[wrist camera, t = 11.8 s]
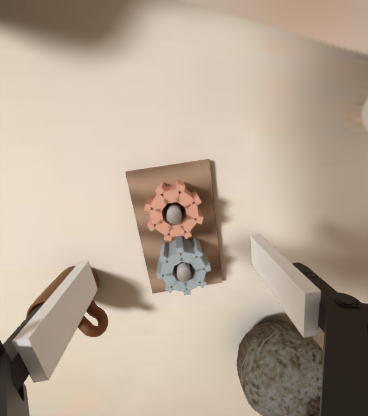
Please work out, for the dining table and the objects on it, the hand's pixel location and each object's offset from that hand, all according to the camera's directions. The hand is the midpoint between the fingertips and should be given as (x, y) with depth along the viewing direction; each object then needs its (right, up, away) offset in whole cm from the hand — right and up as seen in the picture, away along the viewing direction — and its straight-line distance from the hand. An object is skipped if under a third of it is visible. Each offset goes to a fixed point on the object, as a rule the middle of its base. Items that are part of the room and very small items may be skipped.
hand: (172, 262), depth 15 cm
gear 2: (+1, -5, +21) cm, 21 cm away
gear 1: (-1, +5, +18) cm, 19 cm away
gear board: (0, 0, +21) cm, 21 cm away
